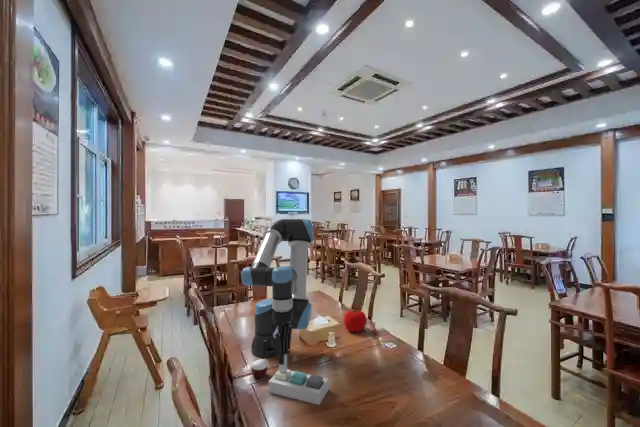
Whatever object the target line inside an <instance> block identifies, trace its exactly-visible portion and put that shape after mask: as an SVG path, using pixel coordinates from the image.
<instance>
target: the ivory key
mask: <svg viewBox="0 0 640 427" xmlns="http://www.w3.org/2000/svg"><path fill="white" fill-rule="evenodd" d="M291 371H292V369H288V368H287V372H286V373H283V372H279V369H278V370H277V371H276V372H275V373H274V375H275V379H276V380H280V381H284V382H286V381H287V380H288V379H289V378H290V377H291Z"/></svg>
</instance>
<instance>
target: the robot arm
mask: <svg viewBox="0 0 640 427" xmlns="http://www.w3.org/2000/svg"><path fill="white" fill-rule="evenodd" d="M314 236H315V235H314V227H313V223H312V220H311V219H309V218H308V219H305V218H299V219H298V218H293V219H292V218H291V219H289V218H288V219H287V218H281V219H278V220H276V221H274V222H273V223H271V224H270V225H269V226H268V227H266V229H265V230H264V232H263V234H262V239H263V240H262V242H261V244H260V246H259V249H258V250H257V253H256V255H255V257H254V259H253V261H252V264H251V266H247V267H244V268H243V269H242V271H241V276H240V277H241V278H240V279H241V283H242V285H243V286H244V287H245V286H247V287H272V294H271V295H272V297H271V298H267V299H262V300H259V301H258V302H257V303H256V304H255V306H254V314H253V315H254V335H253V339H252V342H251V347H250V351H251V354H252V355H254V356H256V357H260V358H261V355H262V349H263V342H264V340H265V341H267V347H266V354H265V358H269V357H273V356H277V357H278V370H279V372H283V373H286V372H287V369H288V354H290V352H291V350H290V349H291V344H292V332H293V330H307V329H308V327H309V325H310V321H311V316H312V308H313V306H312V303H311V302H309V301H310V300H309V298H308V297H307V278H308V277H307V276H308V275H307V274H308V273H307V272H308V248H309V247H310V246H311V245H312V243H313V242H314V240H315V237H314ZM282 242H287V243H288V246H289V247H290V259H289V265H285V266H283V265H282V266H276V267H271V265H272V262H273V259H274V257H275V254H276V252H277V251H276V250H277V249H278V246H279V245H280V244H281V243H282Z"/></svg>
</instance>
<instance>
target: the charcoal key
mask: <svg viewBox="0 0 640 427" xmlns="http://www.w3.org/2000/svg"><path fill="white" fill-rule="evenodd" d="M310 375H311V376H310V377H309V379H308V380H307V387H310V388H314V389H318V390H319V389H320V388H321V386H322V385H323V378H324V377H323V376H320V375H315V374H310Z"/></svg>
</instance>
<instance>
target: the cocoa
mask: <svg viewBox="0 0 640 427" xmlns="http://www.w3.org/2000/svg"><path fill="white" fill-rule="evenodd" d="M266 347H267V341H265V340H264V342H263V349H262V355H261V357H260V359H259V358H258V359H257V360H255V361H252V363H251V365H250V367H251V373H252V375H253V377H254V378H257V379H260V378H263V377H264V376H266V374H267V372H268V365H269V361H268V359H266V357H265V354H266Z"/></svg>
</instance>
